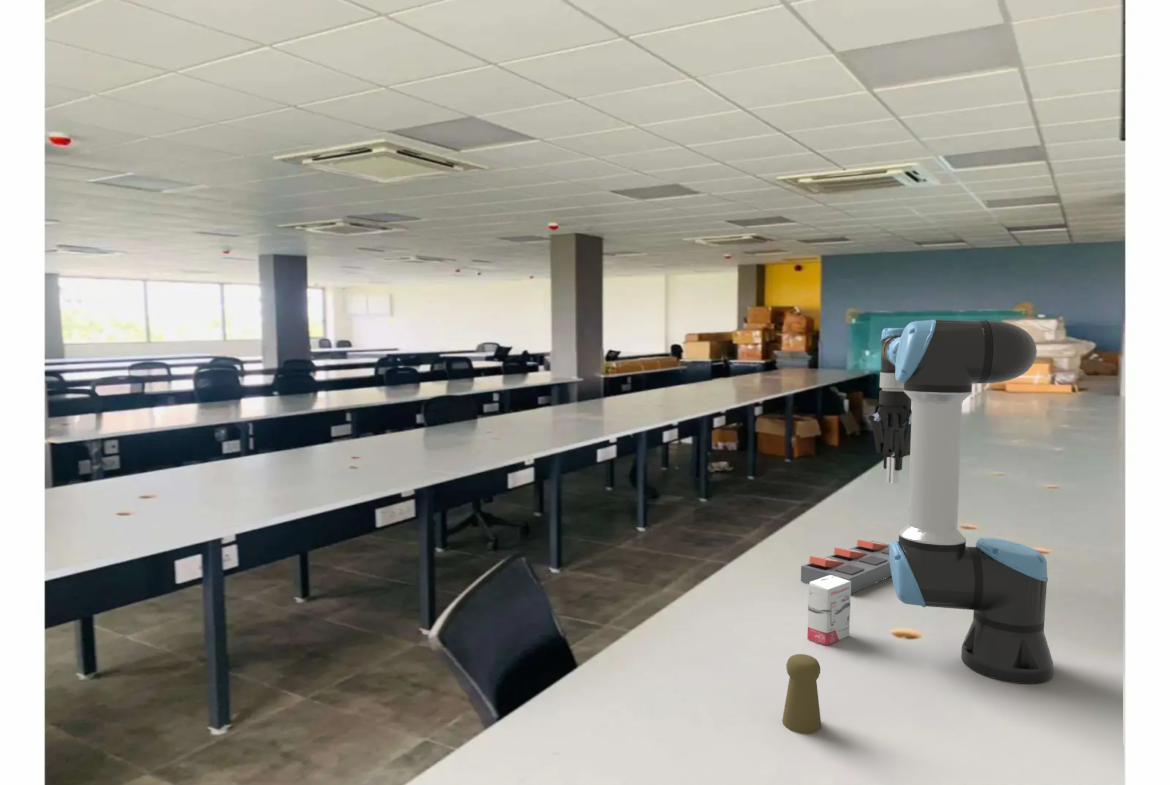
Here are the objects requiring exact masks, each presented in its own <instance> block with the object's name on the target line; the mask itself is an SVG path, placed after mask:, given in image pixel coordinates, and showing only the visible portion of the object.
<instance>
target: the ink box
mask: <svg viewBox="0 0 1170 785" xmlns="http://www.w3.org/2000/svg"><path fill="white" fill-rule="evenodd" d="M807 593H808V595H807V602H808V603H807V640H810V641H811V642H815V643H818V644H820V645H822V646H824V645H825V646H830V645H832V644H835V642H839V641H840V640H842V639H845V638H847V637H849V636H850V628H851V627H850V626H851V624H850V622H851V620H850V618H851V595H852V594H851V581H848V580H845V579H842V578H839V577H836V576H833V575H828V576H825V577H823V578H820V579H817V580H814V581H811V582H810V583H809V584H808V589H807Z"/></svg>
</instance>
